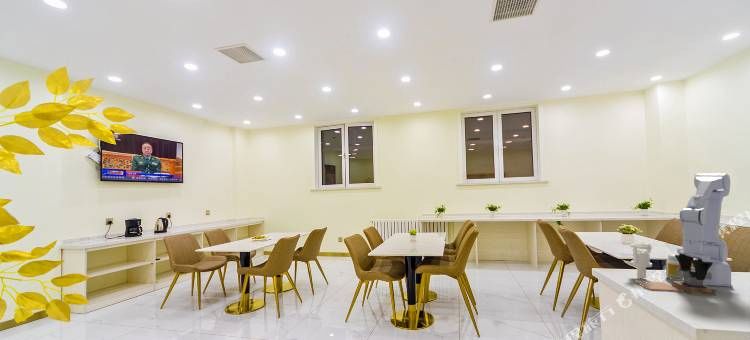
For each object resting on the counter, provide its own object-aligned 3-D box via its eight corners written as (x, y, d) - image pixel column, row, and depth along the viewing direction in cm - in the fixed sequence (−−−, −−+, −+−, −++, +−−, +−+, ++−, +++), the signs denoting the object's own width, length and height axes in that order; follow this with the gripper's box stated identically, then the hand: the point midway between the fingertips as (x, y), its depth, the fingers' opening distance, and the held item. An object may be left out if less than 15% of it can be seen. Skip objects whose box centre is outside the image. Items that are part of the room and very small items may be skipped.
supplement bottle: (686, 281, 144) (686, 257, 145) (671, 280, 146) (671, 256, 146) (677, 277, 150) (677, 254, 150) (663, 276, 151) (663, 253, 151)
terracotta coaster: (663, 283, 140) (663, 282, 140) (680, 291, 131) (680, 290, 131) (635, 282, 142) (635, 280, 142) (649, 290, 132) (649, 288, 132)
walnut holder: (698, 287, 136) (698, 282, 136) (716, 295, 127) (716, 289, 127) (671, 286, 138) (671, 280, 138) (687, 293, 129) (687, 287, 129)
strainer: (643, 281, 144) (642, 244, 144) (626, 276, 151) (626, 241, 151) (656, 280, 145) (656, 243, 146) (640, 275, 152) (639, 240, 153)
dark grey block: (702, 289, 134) (702, 269, 134) (711, 293, 129) (711, 272, 130) (675, 287, 135) (675, 268, 136) (683, 291, 131) (683, 271, 131)
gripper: (668, 236, 141) (668, 271, 140) (694, 243, 126) (694, 281, 126) (688, 237, 139) (689, 272, 139) (717, 244, 125) (717, 283, 125)
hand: (693, 277), depth 133 cm, fingers open, 7 cm apart
